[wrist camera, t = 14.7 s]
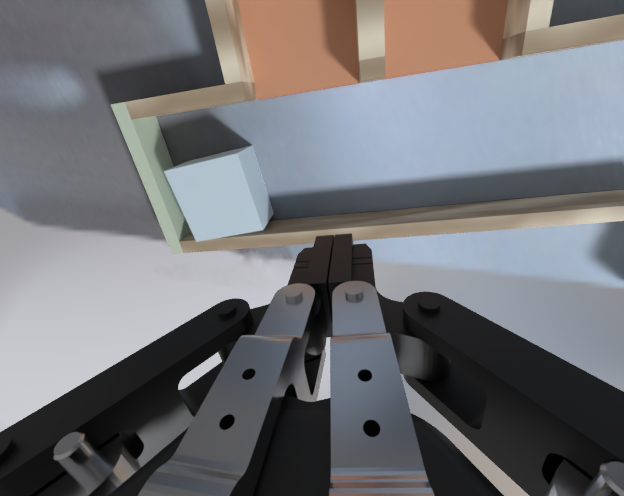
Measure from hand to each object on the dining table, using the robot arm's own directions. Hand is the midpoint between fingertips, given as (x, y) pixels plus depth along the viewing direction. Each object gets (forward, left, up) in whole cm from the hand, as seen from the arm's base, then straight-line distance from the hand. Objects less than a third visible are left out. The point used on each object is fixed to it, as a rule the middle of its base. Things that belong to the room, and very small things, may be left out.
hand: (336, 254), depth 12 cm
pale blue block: (+2, -13, -21) cm, 25 cm away
